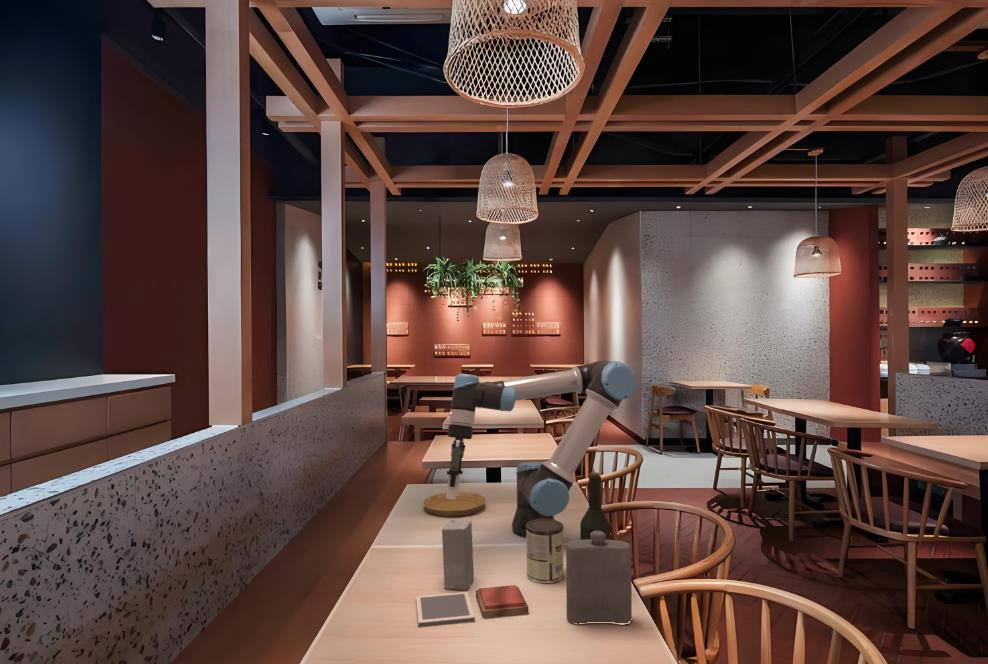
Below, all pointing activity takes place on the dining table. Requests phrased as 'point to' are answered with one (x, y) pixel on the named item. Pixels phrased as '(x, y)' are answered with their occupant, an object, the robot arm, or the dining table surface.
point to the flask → (598, 580)
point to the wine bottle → (594, 511)
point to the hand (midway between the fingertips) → (452, 497)
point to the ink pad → (501, 601)
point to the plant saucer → (454, 504)
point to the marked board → (444, 609)
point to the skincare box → (457, 555)
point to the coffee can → (544, 550)
